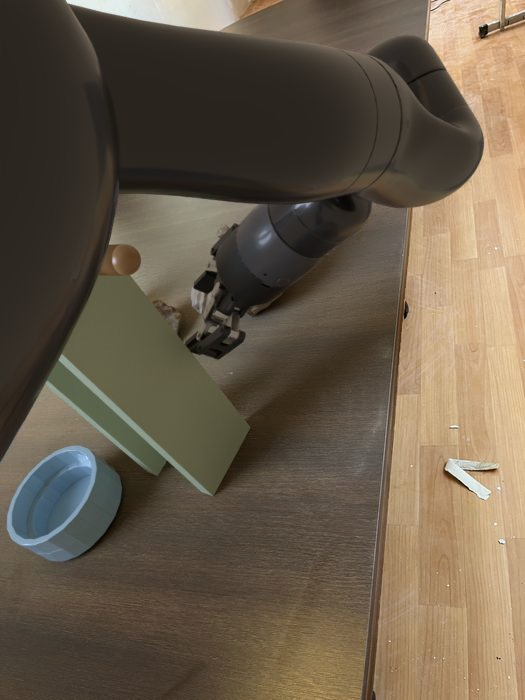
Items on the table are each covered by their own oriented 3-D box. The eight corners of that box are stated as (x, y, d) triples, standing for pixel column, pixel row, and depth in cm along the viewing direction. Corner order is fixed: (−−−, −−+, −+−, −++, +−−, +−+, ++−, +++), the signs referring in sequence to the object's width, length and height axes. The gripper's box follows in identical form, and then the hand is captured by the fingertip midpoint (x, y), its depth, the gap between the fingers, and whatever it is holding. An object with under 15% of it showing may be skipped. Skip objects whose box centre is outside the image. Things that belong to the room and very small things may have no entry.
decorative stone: (180, 292, 84) (148, 367, 77) (194, 308, 87) (164, 381, 80) (139, 297, 89) (105, 368, 81) (153, 311, 92) (122, 381, 84)
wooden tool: (161, 250, 36) (143, 226, 34) (126, 293, 34) (106, 269, 32) (6, 256, 49) (-10, 239, 48) (-25, 287, 47) (-44, 270, 46)
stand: (213, 496, 59) (20, 315, 39) (148, 472, 67) (-45, 308, 46) (250, 427, 64) (96, 232, 43) (186, 411, 71) (27, 238, 50)
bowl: (79, 579, 60) (45, 561, 56) (22, 542, 68) (-11, 525, 64) (142, 480, 66) (115, 457, 62) (83, 457, 74) (56, 436, 70)
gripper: (244, 173, 47) (175, 257, 60) (230, 300, 41) (156, 364, 53) (306, 206, 50) (229, 279, 63) (303, 328, 44) (217, 381, 57)
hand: (196, 317), depth 58 cm, fingers open, 7 cm apart
